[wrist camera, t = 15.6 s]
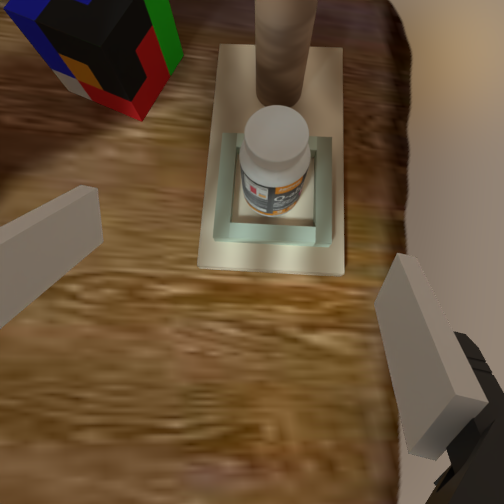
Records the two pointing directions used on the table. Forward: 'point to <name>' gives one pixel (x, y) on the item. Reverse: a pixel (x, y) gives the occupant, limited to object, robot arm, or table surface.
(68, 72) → the puzzle toy
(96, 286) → the table surface
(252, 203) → the pill bottle
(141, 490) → the table surface
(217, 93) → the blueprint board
